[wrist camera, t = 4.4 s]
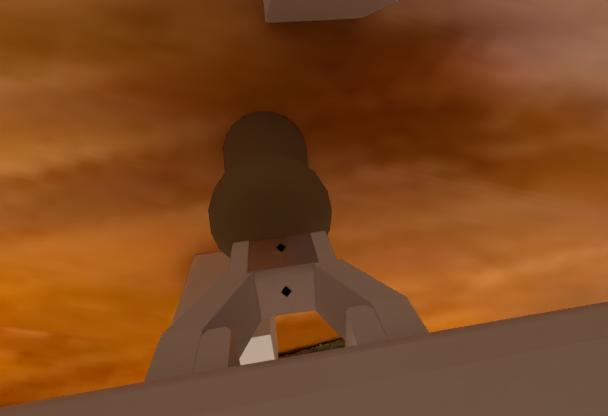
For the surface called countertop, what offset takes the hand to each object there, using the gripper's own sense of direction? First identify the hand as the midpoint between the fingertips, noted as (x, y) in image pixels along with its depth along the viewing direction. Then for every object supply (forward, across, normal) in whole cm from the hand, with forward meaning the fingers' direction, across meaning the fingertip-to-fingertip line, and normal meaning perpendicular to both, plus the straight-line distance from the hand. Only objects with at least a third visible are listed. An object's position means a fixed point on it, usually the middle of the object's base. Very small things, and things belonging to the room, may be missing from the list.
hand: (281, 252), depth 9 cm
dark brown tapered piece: (+12, 0, 0) cm, 13 cm away
